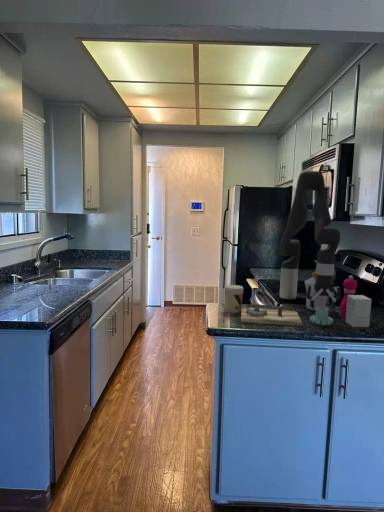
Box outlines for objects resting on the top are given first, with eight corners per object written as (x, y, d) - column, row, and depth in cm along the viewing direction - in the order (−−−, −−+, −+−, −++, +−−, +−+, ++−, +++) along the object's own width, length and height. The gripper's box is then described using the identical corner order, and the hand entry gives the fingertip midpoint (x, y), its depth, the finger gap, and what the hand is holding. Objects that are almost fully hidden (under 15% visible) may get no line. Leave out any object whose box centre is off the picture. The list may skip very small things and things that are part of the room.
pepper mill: (346, 319, 161) (349, 277, 159) (335, 315, 168) (339, 274, 166) (359, 318, 163) (363, 276, 161) (348, 314, 170) (352, 273, 168)
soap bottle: (320, 314, 169) (324, 264, 166) (297, 308, 178) (300, 260, 175) (333, 309, 177) (337, 261, 174) (310, 304, 187) (313, 258, 183)
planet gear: (308, 317, 163) (309, 305, 163) (329, 318, 162) (330, 306, 161) (312, 324, 154) (313, 310, 153) (334, 325, 153) (336, 312, 152)
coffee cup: (236, 314, 165) (237, 289, 164) (219, 310, 171) (220, 286, 169) (246, 310, 173) (247, 286, 171) (229, 306, 178) (230, 283, 177)
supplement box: (360, 321, 159) (363, 294, 157) (369, 327, 151) (372, 299, 150) (344, 321, 158) (347, 294, 157) (352, 327, 151) (355, 298, 149)
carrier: (241, 311, 170) (241, 298, 169) (296, 315, 166) (297, 302, 166) (240, 322, 155) (241, 307, 154) (301, 326, 151) (302, 311, 150)
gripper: (339, 272, 158) (336, 307, 160) (306, 271, 160) (304, 305, 162) (344, 275, 150) (341, 312, 152) (309, 273, 152) (307, 310, 154)
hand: (322, 308), depth 157 cm, fingers open, 8 cm apart
